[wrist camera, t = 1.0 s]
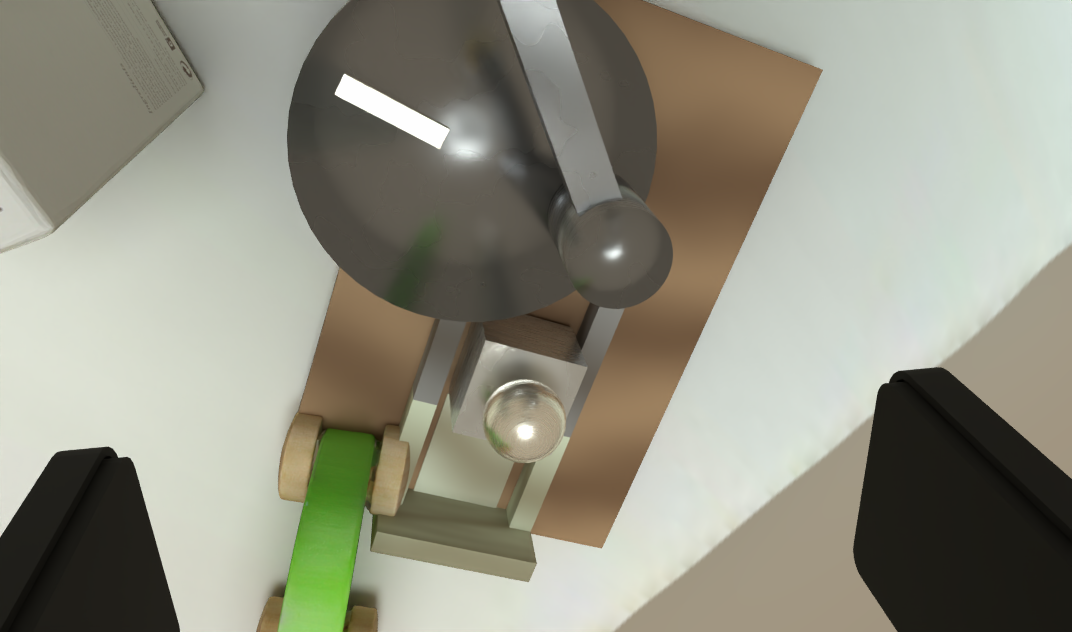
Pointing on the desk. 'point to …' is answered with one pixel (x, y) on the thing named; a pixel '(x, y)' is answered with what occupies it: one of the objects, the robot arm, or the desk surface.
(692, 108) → the stand
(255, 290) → the desk surface
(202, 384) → the desk surface
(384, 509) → the toy lion
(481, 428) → the block with glass ball
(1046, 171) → the desk surface
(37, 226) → the skincare box
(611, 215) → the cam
